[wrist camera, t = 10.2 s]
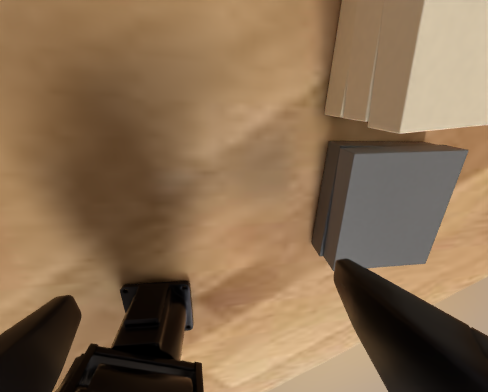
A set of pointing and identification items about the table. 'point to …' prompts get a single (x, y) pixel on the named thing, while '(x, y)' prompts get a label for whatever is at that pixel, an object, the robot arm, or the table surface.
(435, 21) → the cream rectangular block
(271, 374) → the table surface
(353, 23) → the beige block
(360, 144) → the grey books
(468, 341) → the robot arm
